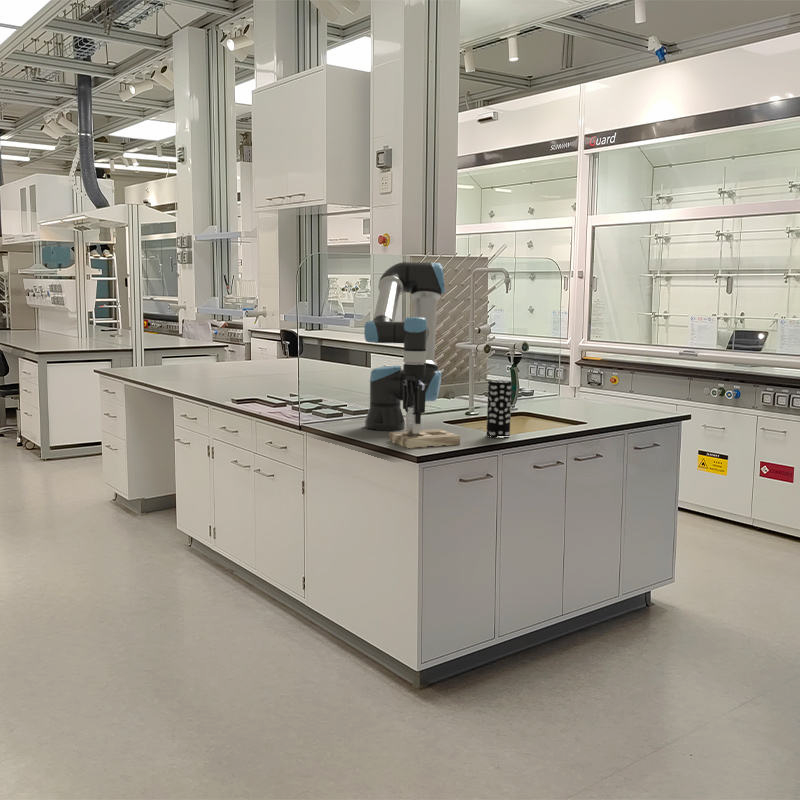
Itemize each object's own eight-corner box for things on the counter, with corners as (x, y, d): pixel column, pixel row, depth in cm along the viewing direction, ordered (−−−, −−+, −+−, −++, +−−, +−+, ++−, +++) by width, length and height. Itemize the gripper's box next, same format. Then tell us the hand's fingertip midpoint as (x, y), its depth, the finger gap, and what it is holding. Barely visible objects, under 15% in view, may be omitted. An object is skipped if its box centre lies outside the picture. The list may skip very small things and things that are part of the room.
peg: (405, 441, 271) (405, 406, 269) (415, 440, 272) (416, 406, 271) (410, 443, 267) (411, 408, 265) (420, 442, 269) (421, 407, 267)
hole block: (389, 441, 273) (389, 432, 273) (439, 437, 283) (439, 429, 282) (408, 448, 261) (408, 439, 261) (460, 444, 270) (460, 435, 270)
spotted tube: (511, 438, 283) (514, 383, 280) (488, 438, 282) (490, 382, 280) (506, 434, 291) (508, 380, 289) (484, 434, 291) (486, 380, 288)
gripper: (436, 365, 260) (435, 435, 263) (412, 361, 275) (411, 427, 278) (416, 365, 257) (415, 436, 260) (393, 361, 272) (392, 428, 275)
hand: (413, 431), depth 269 cm, fingers closed on peg, 4 cm apart
